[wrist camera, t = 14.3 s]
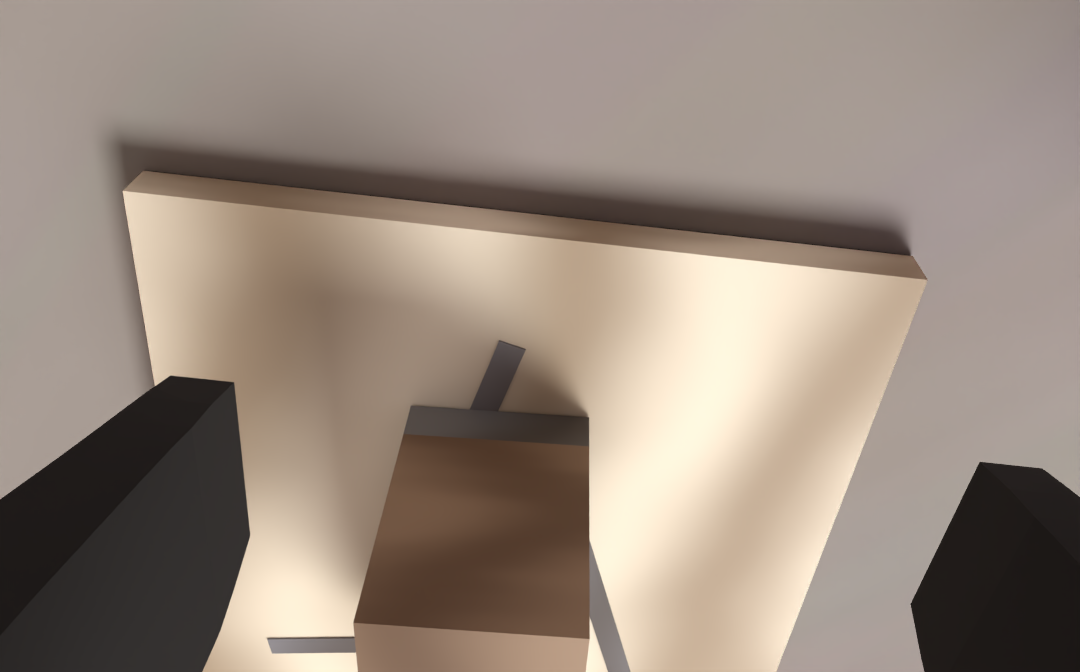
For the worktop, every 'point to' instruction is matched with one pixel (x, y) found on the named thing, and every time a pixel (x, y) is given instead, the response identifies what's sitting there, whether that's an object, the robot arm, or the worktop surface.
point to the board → (524, 397)
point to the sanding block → (481, 547)
